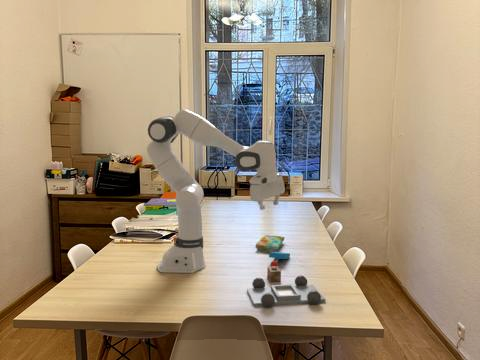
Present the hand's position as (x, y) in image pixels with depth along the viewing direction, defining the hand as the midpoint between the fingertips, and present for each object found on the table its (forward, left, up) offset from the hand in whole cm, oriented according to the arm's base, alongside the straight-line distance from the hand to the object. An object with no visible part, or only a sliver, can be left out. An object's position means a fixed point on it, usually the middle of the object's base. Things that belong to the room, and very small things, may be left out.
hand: (269, 207), depth 191 cm
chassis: (0, -29, -30) cm, 42 cm away
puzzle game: (+10, +36, -31) cm, 48 cm away
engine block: (0, -11, -30) cm, 32 cm away
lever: (+8, +11, -31) cm, 34 cm away
